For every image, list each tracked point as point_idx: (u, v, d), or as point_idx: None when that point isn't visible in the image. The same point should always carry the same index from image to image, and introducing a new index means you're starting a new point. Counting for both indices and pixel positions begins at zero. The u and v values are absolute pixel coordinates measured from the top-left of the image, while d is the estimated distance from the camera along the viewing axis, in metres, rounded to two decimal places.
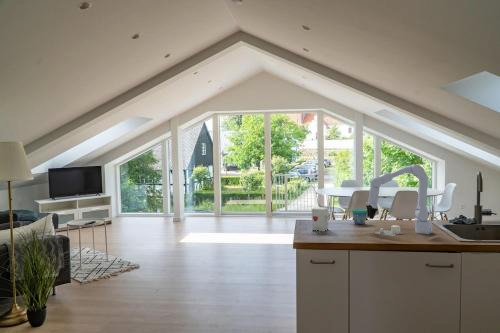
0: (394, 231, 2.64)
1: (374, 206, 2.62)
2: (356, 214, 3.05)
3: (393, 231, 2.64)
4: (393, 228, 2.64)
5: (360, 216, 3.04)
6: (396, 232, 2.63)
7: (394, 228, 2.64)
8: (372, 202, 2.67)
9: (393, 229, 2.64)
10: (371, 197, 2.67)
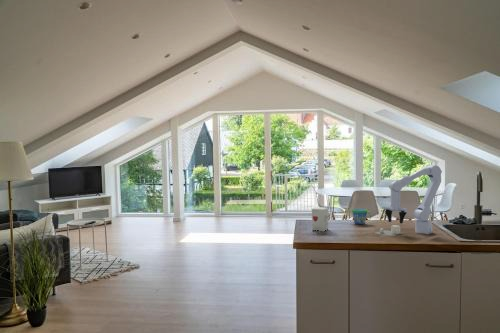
0: (394, 231, 2.64)
1: (406, 210, 2.60)
2: (356, 214, 3.05)
3: (393, 231, 2.64)
4: (393, 228, 2.64)
5: (360, 216, 3.04)
6: (396, 232, 2.63)
7: (394, 228, 2.64)
8: (399, 206, 2.63)
9: (393, 229, 2.64)
10: (397, 202, 2.62)
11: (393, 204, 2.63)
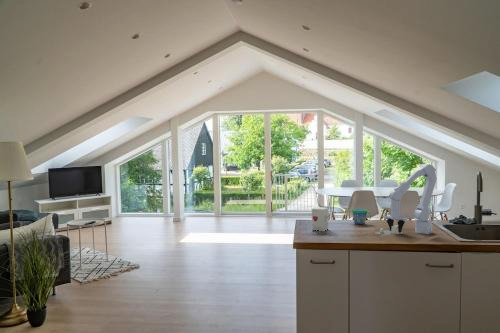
0: (394, 231, 2.64)
1: (406, 219, 2.60)
2: (356, 214, 3.05)
3: (393, 231, 2.64)
4: (393, 228, 2.64)
5: (360, 216, 3.04)
6: (396, 232, 2.63)
7: (394, 228, 2.64)
8: (399, 216, 2.63)
9: (393, 229, 2.64)
10: (397, 211, 2.62)
11: (393, 213, 2.63)
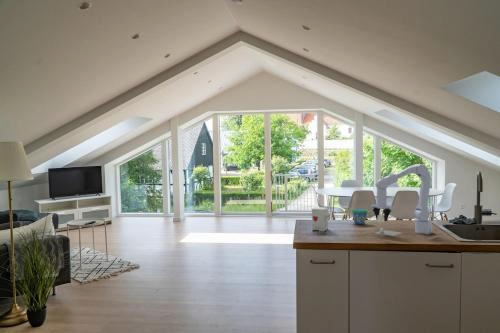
0: (380, 220, 2.64)
1: (392, 208, 2.60)
2: (356, 214, 3.05)
3: (379, 220, 2.64)
4: (379, 217, 2.64)
5: (360, 216, 3.04)
6: (382, 221, 2.63)
7: (380, 217, 2.64)
8: (385, 204, 2.63)
9: (379, 218, 2.64)
10: (383, 200, 2.62)
11: (379, 202, 2.63)
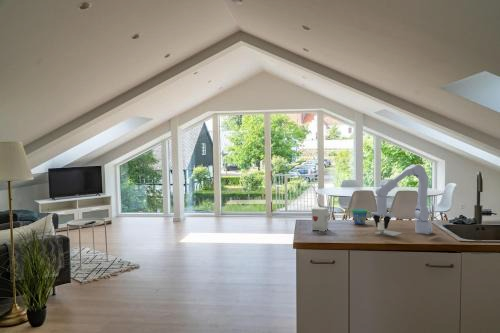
0: (380, 227, 2.64)
1: (392, 215, 2.60)
2: (356, 214, 3.05)
3: (379, 227, 2.64)
4: (379, 224, 2.64)
5: (360, 216, 3.04)
6: (382, 228, 2.63)
7: (380, 224, 2.64)
8: (385, 212, 2.63)
9: (379, 225, 2.64)
10: (383, 207, 2.63)
11: (379, 209, 2.63)
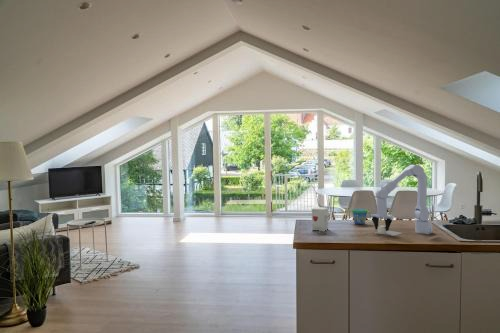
0: (380, 231, 2.64)
1: (392, 217, 2.60)
2: (356, 214, 3.05)
3: (379, 231, 2.64)
4: (379, 228, 2.64)
5: (360, 216, 3.04)
6: (382, 232, 2.63)
7: (380, 228, 2.64)
8: (385, 214, 2.63)
9: (379, 229, 2.64)
10: (383, 209, 2.63)
11: (379, 212, 2.64)
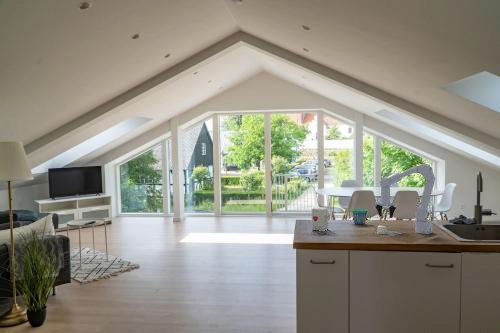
0: (380, 231, 2.64)
1: (396, 205, 2.72)
2: (356, 214, 3.05)
3: (379, 231, 2.64)
4: (379, 228, 2.64)
5: (360, 216, 3.04)
6: (382, 232, 2.63)
7: (380, 228, 2.64)
8: (389, 202, 2.75)
9: (379, 229, 2.64)
10: (387, 197, 2.74)
11: (383, 199, 2.75)
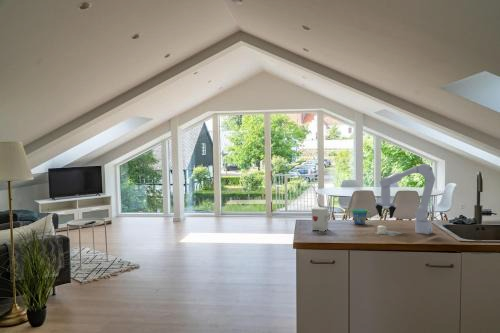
0: (380, 231, 2.64)
1: (396, 205, 2.72)
2: (356, 214, 3.05)
3: (379, 231, 2.64)
4: (379, 228, 2.64)
5: (360, 216, 3.04)
6: (382, 232, 2.63)
7: (380, 228, 2.64)
8: (389, 202, 2.75)
9: (379, 229, 2.64)
10: (387, 197, 2.74)
11: (383, 199, 2.75)
